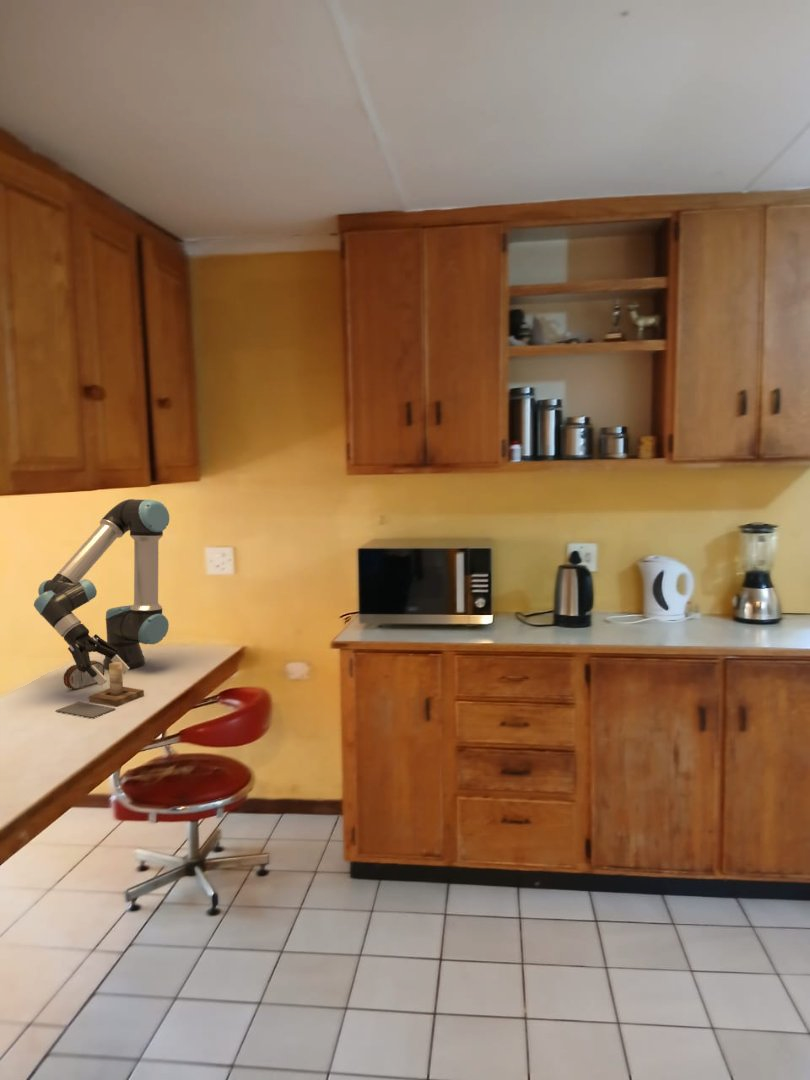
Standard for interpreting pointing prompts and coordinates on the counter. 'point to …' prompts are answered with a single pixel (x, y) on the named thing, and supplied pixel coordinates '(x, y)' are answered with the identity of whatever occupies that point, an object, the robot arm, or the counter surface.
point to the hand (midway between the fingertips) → (115, 676)
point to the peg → (116, 679)
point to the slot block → (107, 699)
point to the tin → (81, 676)
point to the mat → (86, 709)
